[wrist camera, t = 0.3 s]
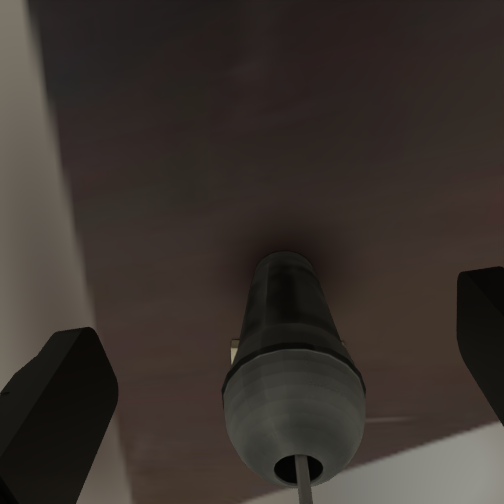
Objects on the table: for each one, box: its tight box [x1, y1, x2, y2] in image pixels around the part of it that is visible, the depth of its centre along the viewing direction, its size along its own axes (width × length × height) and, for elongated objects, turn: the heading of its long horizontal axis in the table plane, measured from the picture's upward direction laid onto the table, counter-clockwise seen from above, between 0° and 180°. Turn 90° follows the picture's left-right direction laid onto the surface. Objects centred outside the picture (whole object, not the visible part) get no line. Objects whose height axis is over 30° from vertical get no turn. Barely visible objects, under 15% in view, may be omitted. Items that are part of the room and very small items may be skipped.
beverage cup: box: [222, 251, 366, 504], centre depth 23 cm, size 7×7×20 cm
